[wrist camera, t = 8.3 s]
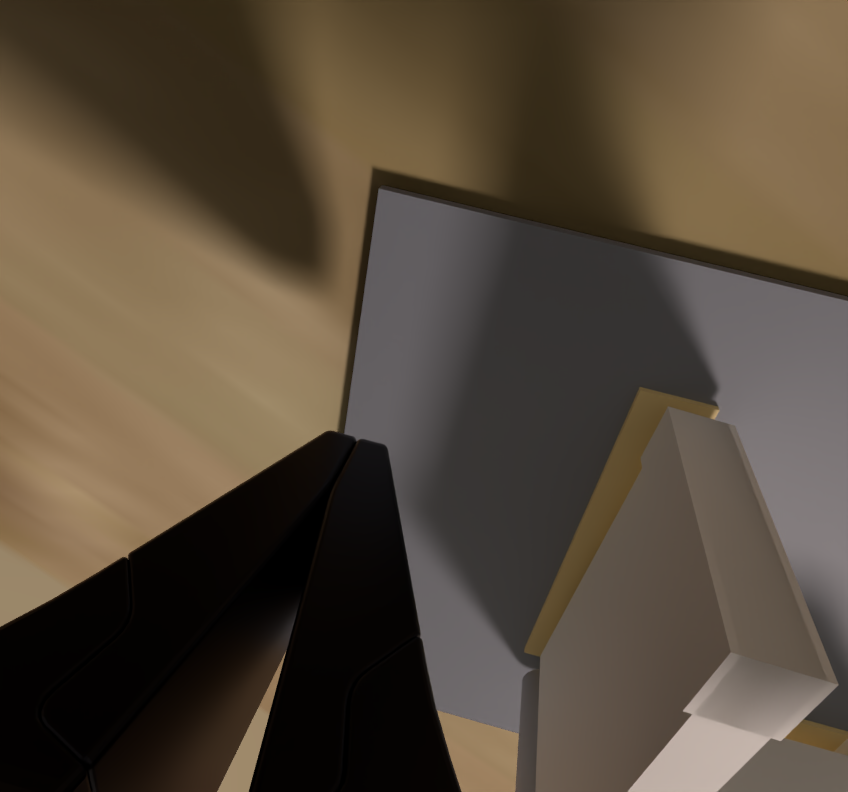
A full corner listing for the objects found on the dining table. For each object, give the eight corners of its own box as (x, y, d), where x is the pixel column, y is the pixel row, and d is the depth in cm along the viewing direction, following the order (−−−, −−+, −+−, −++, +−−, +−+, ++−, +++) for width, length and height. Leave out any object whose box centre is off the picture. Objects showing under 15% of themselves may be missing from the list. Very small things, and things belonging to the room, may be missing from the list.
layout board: (1349, 416, 8) (1373, 429, 8) (856, 821, 15) (861, 835, 14) (382, 185, 9) (377, 190, 9) (312, 666, 15) (308, 678, 15)
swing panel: (562, 704, 13) (561, 971, 10) (516, 691, 13) (498, 950, 10) (734, 425, 9) (846, 704, 6) (667, 406, 9) (736, 671, 6)
